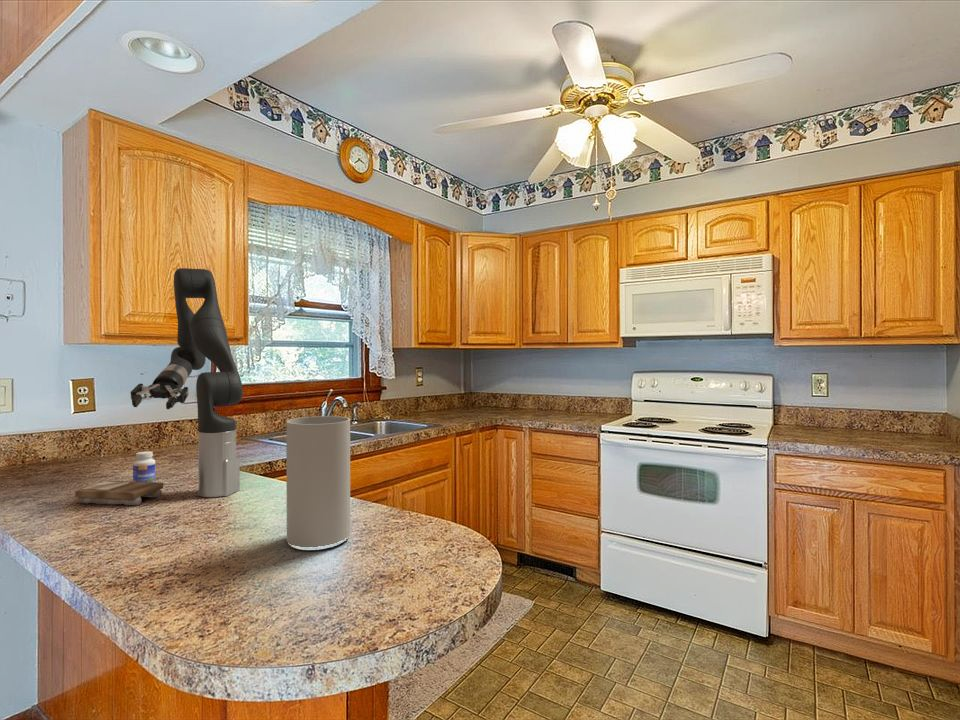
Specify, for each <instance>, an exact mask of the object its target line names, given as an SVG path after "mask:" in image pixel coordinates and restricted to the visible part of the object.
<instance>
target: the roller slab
mask: <svg viewBox="0 0 960 720" xmlns="http://www.w3.org/2000/svg"><path fill="white" fill-rule="evenodd" d="M163 488H164V482H158V481H155V482H133V481H124V480H123V481H120V480H106V481H103V482H100V483H96V484H92V485H91V486H90V485H89V486H86V487H83V488H80V489H78V490H75V491H74V493H75V495H74V496H75V497H76V498H77V499H76V500H77V503H78V504H88V503H99V504H98V505H115V504H124V505H123V506H139V505H138V504H140V505H141V504H142V497H143V498H160V497H161V496H162V494H163V493H162V489H163Z"/></svg>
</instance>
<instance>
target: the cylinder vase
mask: <svg viewBox="0 0 960 720" xmlns="http://www.w3.org/2000/svg"><path fill="white" fill-rule="evenodd" d="M285 423H286V426H285V427H286V428H285V429H286V431H285V432H286V436H285V438H286V440H285V441H286V443H285V444H286V452H285V453H286V459H285V460H286V467H285V469H286V543H287V542H288V543H289V544H291V545H295V546H300V547H318V546H325V545H330V544H334V543H337V542H339V541H341V540H344V539H345V538H347V537H348V536H349V535H350V536H351V418H349V417H346V416H338V415H337V416H335V415H334V416H333V415H317V416H315V415H313V416H303V417H297V418H290V419H287V420H286V421H285ZM288 543H287V544H288Z"/></svg>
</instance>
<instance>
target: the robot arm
mask: <svg viewBox="0 0 960 720" xmlns="http://www.w3.org/2000/svg"><path fill="white" fill-rule="evenodd" d="M173 291H174V292H173V293H174V302H175V303H174V304H175V310H176V311H175V312H176V318H177V335H176V336H177V345H178V347H175V348H174V349H172V351H171V354H170V360H169V361H170V362H169V363H168V364H167V365H166V367H164V368H163V369H162V370H161V371H160V373H159V374H158V375H157V376H156V377H155V379H154V380H153V381H152V383H151V384H150V385H148V386H145V385H144V384H143V383H138V384H137V385H136V386H135V387H134V388H133V389H132V390H131V391H130V392H129V393H130V400H131V405H132V406H133V408H137V407H138V406H139V405H140V404H141V403H142V401H151V400H152V399H167V401H166V403H165V409H166V410H171V409H172V408H174V406H175V405H176V404H178V403H180V404H185V402H186V400H187V398H188V396H189V386H184V385H185V384H186V382H187V379H188V378H189V376H191V374H192V372H193V371H199V370H201V369H202V368H203V367H204V366H205V364H206V359H208V360H209V361H210V362H211V363H212V364H214V366H216V368H217V369H218V371H210V372H208V371H205V372H201V373H199V374H198V376H197V379H196V383H195V387H196V390H195V391H196V401H197V402H196V403H197V430H198V433H197V436H198V437H197V446H198V447H197V448H198V449H197V450H198V451H197V453H198V455H197V457H198V460H197V461H198V465H197V469H198V471H197V472H198V473H197V475H198V496H199V497H203V498H218V497H228V496H230V495H232V494H234V493H236V492H238V491H240V472H241V471H240V470H241V469H240V456H238V455H237V422H236V420H235V419H234V418H232V417H230V416H225V415H221V414H219V413H217V412H216V411H214V407H215V406H231V405H237V404H238V403H240V402H241V401H242V399H243V394H244V393H243V392H244V391H243V384H242V383H243V382H242V380H241V376H240V373H239V370H238V369H237V365H236V363H235V360H234V357H233V355H232V352H231V351H232V350H231V347H230V344H229V338H228V333H227V330H226V326H225V322H224V320H223V316H222V312H221V309H220V306H219V305H220V304H219V299H218V294H217V292H218V291H217V287H216V281H215V277H214V274H213V272H212V271H211V270H209V269H206V268H189V267H187V268H185V267H181V268H177V269H175V271H174V275H173ZM187 299H204V301H203V303H202V304H201V306H200V307H199V309H198V310H197V311H196V312H195V313H194V312H193V310H192V309H191V308H190V306H189V305H188V302H187ZM183 386H184V387H183ZM182 387H183V388H182ZM178 394H179V395H178ZM142 395H143V396H142Z"/></svg>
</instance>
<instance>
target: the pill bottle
mask: <svg viewBox="0 0 960 720" xmlns="http://www.w3.org/2000/svg"><path fill="white" fill-rule="evenodd" d="M153 456H154V453H153V451H139V452H136V453H135V458H136V460H134V461H133V463H132V482H156V460H155V459H154V458H153Z"/></svg>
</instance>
